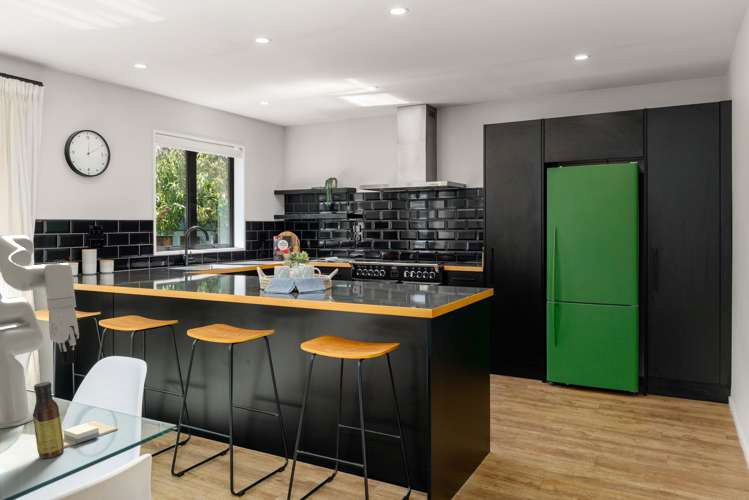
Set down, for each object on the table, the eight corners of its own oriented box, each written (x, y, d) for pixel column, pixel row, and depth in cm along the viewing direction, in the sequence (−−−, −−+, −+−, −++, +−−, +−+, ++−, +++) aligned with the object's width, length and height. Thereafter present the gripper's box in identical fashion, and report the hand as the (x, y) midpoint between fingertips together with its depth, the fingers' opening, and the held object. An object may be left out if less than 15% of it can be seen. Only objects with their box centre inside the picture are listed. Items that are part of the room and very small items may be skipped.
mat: (39, 439, 169) (39, 437, 169) (93, 422, 181) (93, 420, 181) (62, 448, 158) (61, 446, 158) (117, 429, 171) (117, 427, 171)
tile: (84, 423, 170) (63, 430, 166) (98, 427, 165) (77, 434, 160) (85, 431, 171) (64, 438, 166) (99, 435, 165) (78, 443, 160)
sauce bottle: (46, 451, 157) (37, 381, 156) (69, 449, 157) (60, 378, 157) (33, 461, 151) (24, 387, 150) (57, 458, 151) (48, 385, 150)
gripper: (38, 305, 174) (45, 364, 174) (59, 306, 164) (66, 368, 165) (64, 302, 179) (70, 359, 180) (85, 302, 170) (92, 362, 171)
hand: (68, 363), depth 172 cm, fingers closed
